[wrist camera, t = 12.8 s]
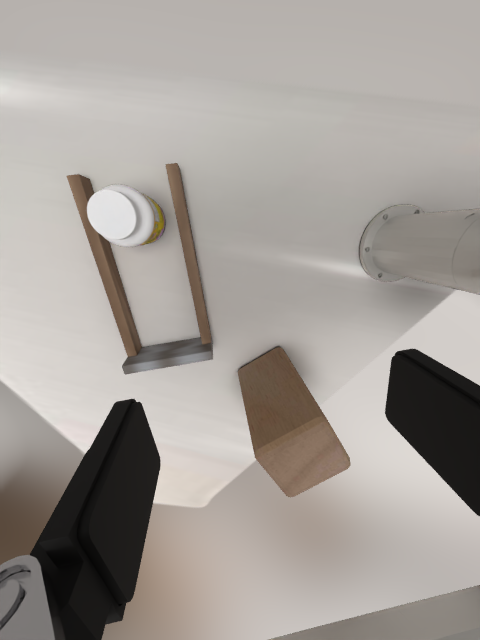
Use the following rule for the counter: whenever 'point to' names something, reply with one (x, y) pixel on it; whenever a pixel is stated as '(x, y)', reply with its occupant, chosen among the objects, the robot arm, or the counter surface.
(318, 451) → the block
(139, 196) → the supplement bottle
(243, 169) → the counter surface
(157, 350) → the shelf lane
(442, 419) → the robot arm
